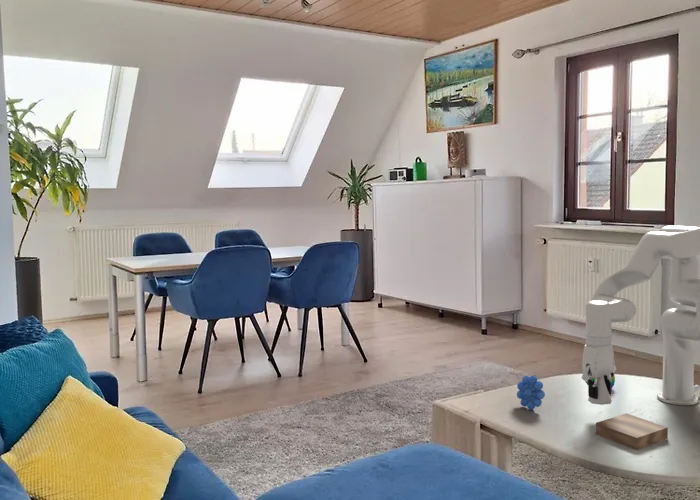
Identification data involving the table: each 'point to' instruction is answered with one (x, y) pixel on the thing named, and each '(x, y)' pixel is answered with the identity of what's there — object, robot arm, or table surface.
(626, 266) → the robot arm
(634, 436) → the flat wooden block
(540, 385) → the grapes
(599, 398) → the flask
